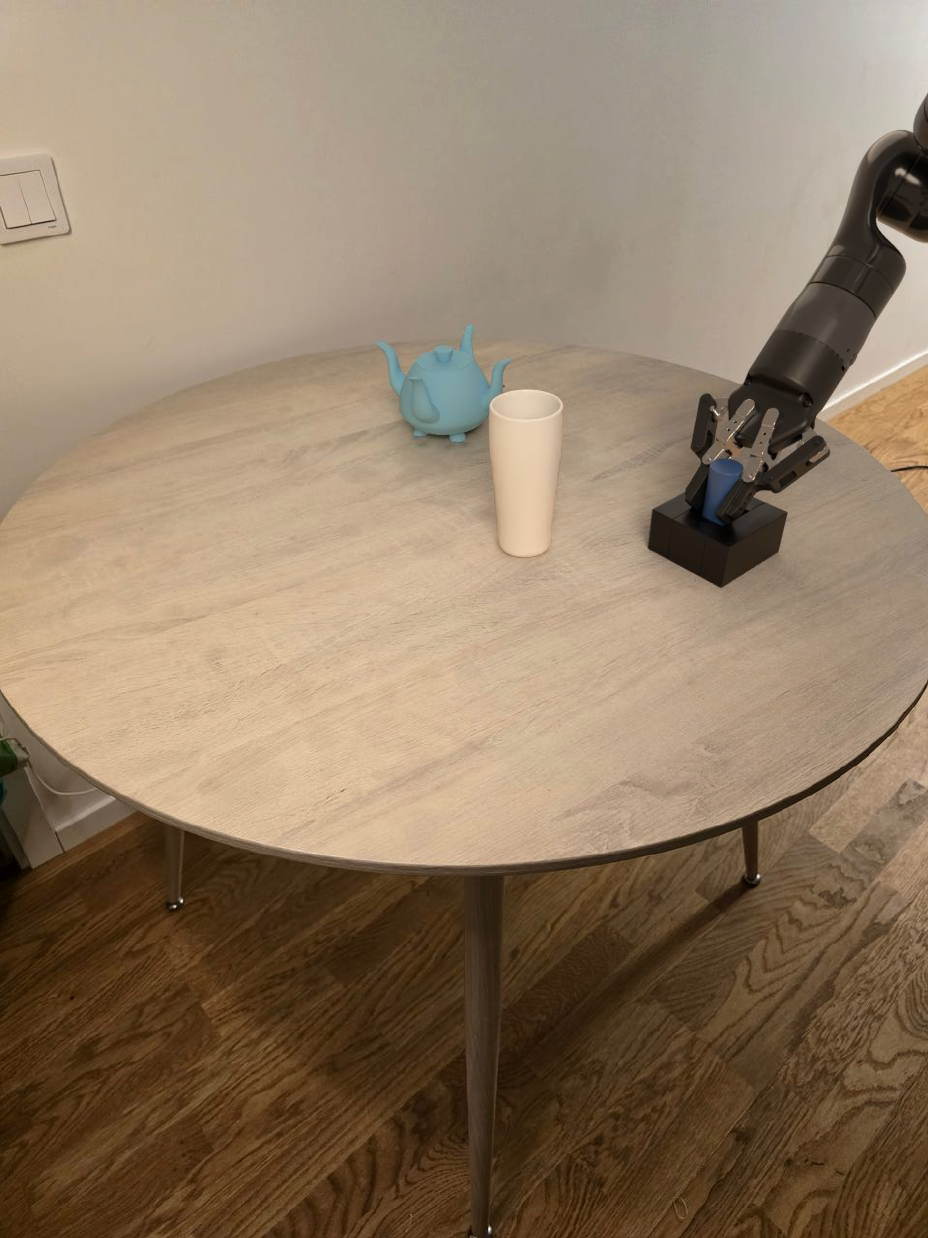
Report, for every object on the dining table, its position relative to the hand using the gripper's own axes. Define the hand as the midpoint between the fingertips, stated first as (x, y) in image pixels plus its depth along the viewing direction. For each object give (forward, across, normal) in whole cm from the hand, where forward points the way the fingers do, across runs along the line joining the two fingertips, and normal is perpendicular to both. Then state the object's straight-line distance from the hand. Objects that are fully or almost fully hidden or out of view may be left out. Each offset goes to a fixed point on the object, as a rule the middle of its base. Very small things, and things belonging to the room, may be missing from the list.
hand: (706, 512), depth 80 cm
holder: (+2, 0, +5) cm, 5 cm away
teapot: (+4, -39, +4) cm, 39 cm away
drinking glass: (+12, -13, -4) cm, 18 cm away
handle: (+2, 0, +5) cm, 5 cm away
